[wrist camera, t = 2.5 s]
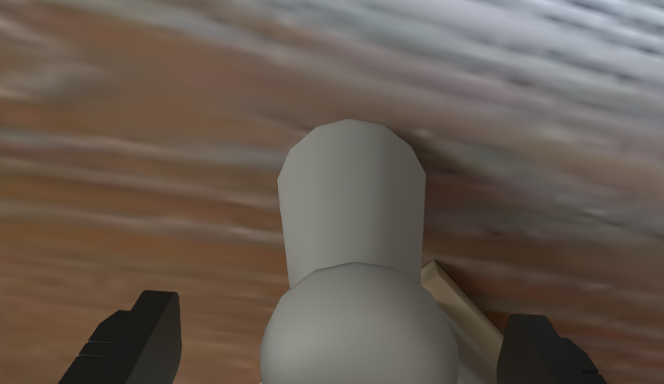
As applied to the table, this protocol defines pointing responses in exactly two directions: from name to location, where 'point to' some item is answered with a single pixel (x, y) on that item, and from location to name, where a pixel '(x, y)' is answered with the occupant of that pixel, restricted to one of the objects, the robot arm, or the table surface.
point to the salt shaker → (355, 266)
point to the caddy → (465, 328)
